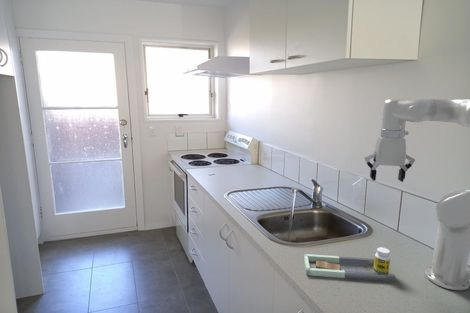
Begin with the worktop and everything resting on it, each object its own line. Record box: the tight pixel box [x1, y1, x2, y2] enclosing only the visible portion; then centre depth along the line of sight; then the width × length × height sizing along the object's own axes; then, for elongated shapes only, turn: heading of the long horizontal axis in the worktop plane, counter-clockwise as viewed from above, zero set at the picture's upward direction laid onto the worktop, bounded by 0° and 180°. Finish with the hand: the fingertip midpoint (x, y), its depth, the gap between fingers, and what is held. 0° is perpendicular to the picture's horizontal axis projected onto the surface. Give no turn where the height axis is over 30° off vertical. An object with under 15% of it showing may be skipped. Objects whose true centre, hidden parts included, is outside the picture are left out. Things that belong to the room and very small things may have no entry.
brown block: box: [328, 262, 341, 270], centre depth 111 cm, size 4×4×2 cm
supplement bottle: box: [373, 246, 391, 274], centre depth 108 cm, size 5×5×8 cm
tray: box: [303, 253, 346, 279], centre depth 111 cm, size 13×10×3 cm
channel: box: [338, 255, 396, 283], centre depth 109 cm, size 16×10×3 cm, turn 83°
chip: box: [315, 260, 329, 269], centre depth 112 cm, size 4×4×2 cm
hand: (386, 180), depth 116 cm, fingers open, 9 cm apart
